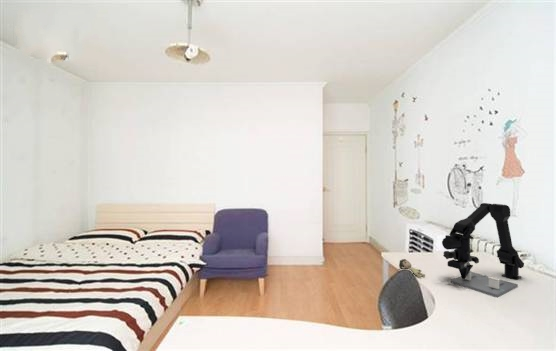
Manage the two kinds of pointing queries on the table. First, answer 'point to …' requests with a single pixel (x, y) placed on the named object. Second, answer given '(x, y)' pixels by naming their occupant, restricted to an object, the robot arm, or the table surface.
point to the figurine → (410, 268)
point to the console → (484, 284)
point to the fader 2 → (493, 282)
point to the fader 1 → (468, 276)
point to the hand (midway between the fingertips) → (463, 278)
